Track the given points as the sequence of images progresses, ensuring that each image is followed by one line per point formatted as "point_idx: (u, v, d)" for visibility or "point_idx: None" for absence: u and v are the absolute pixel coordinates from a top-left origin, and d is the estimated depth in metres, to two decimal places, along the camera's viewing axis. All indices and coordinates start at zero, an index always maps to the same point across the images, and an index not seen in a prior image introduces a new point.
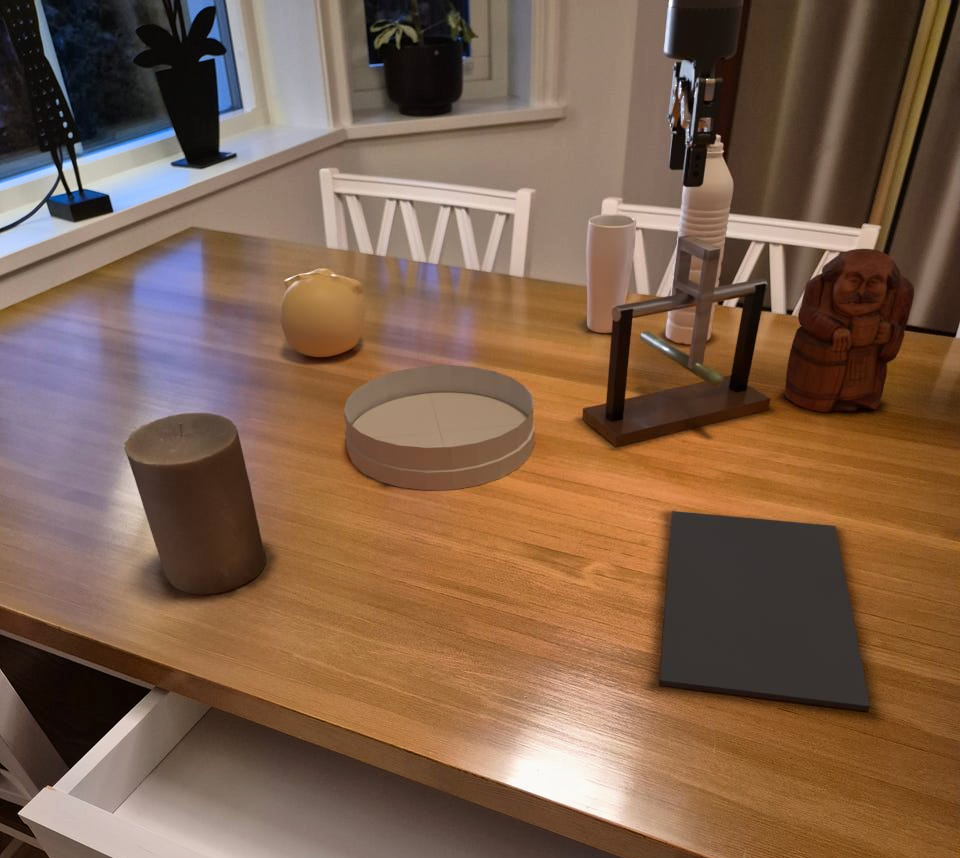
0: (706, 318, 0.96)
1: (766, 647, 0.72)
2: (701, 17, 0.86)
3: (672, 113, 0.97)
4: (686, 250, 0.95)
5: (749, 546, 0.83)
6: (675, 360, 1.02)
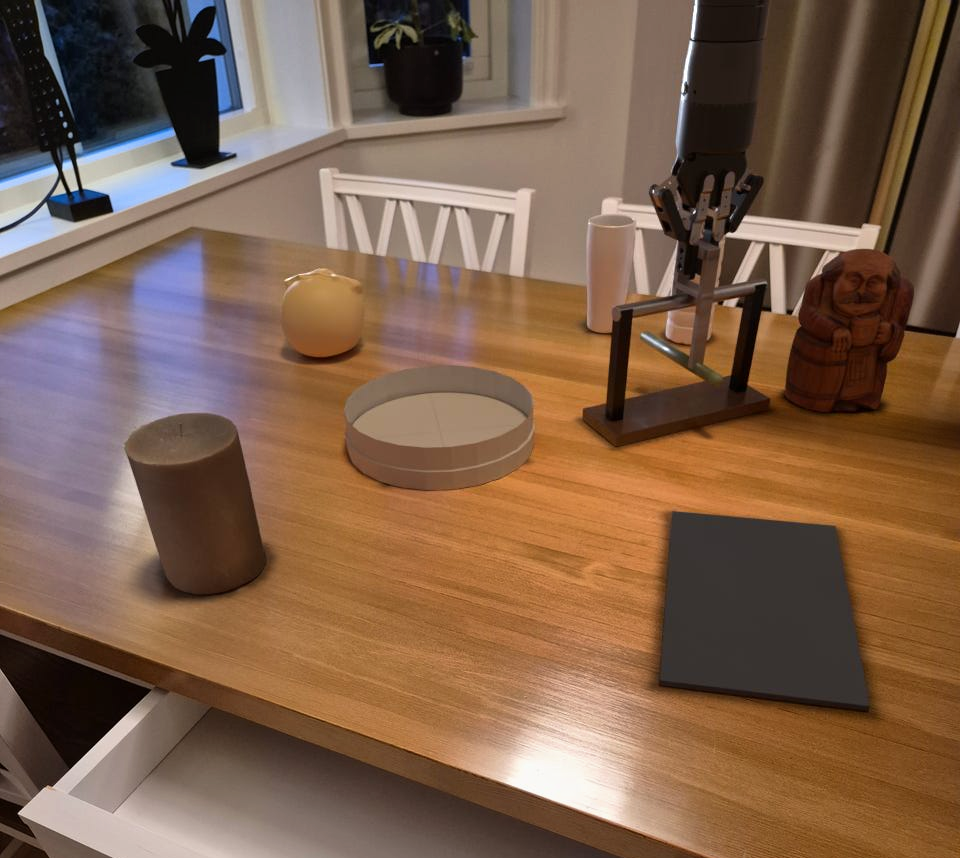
0: (706, 318, 0.96)
1: (766, 647, 0.72)
2: (681, 108, 0.85)
3: None
4: None
5: (749, 546, 0.83)
6: (675, 360, 1.02)
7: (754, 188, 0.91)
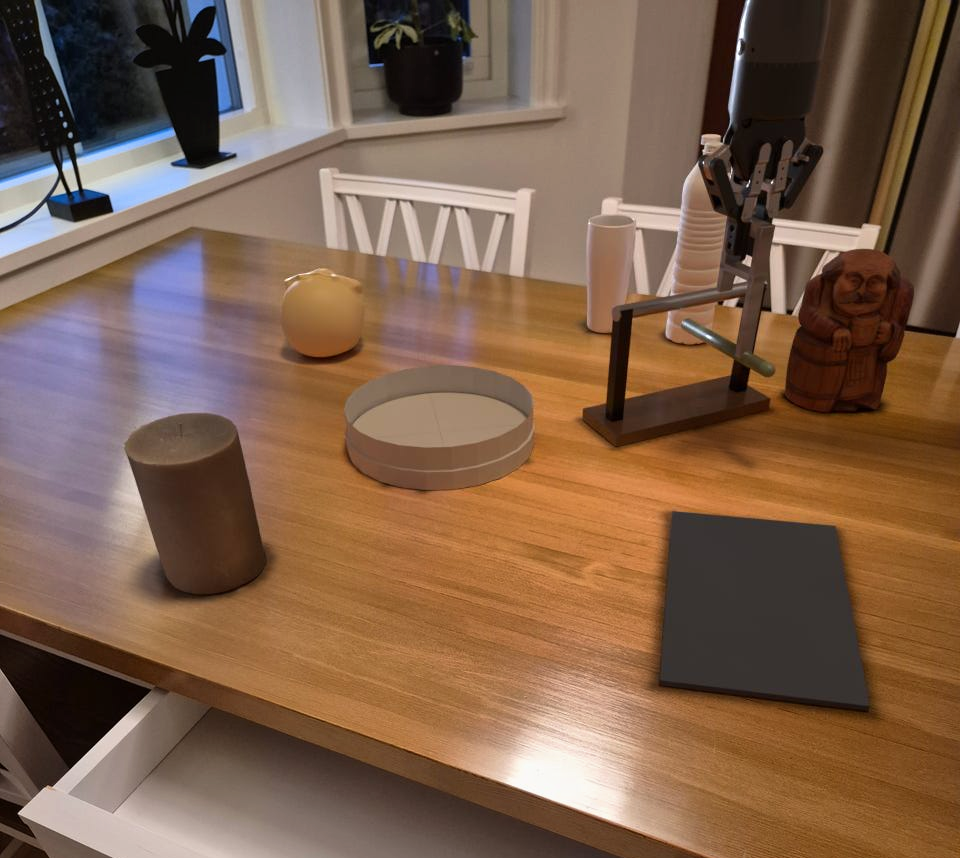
0: (757, 303, 0.88)
1: (766, 647, 0.72)
2: (736, 69, 0.77)
3: None
4: None
5: (749, 546, 0.83)
6: (720, 349, 0.94)
7: (813, 159, 0.83)
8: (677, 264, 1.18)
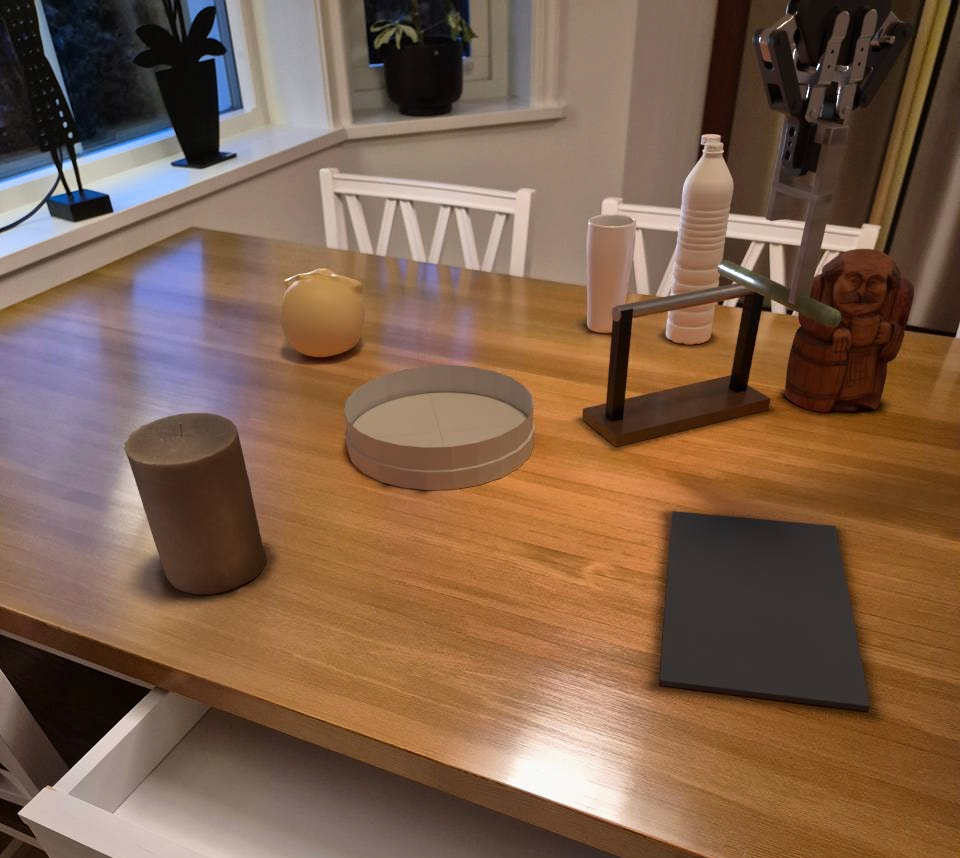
0: (820, 231, 0.70)
1: (766, 647, 0.72)
2: None
3: None
4: None
5: (749, 546, 0.83)
6: (769, 295, 0.76)
7: (899, 41, 0.64)
8: (677, 264, 1.18)
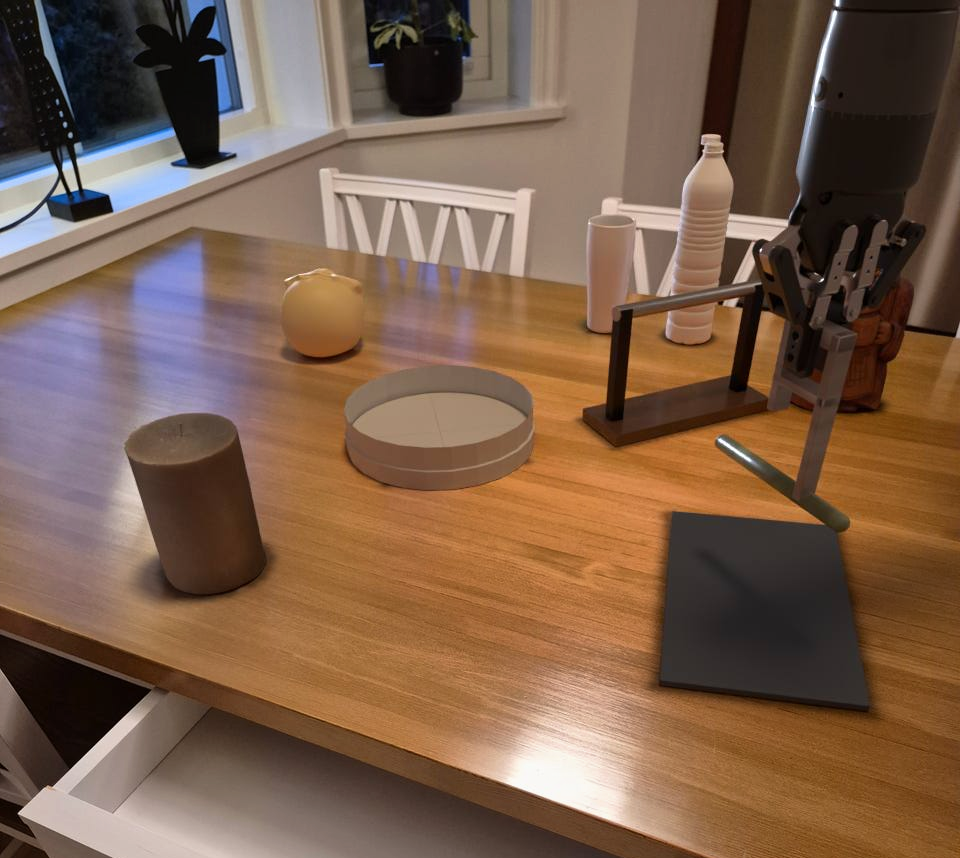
0: (826, 432, 0.64)
1: (766, 647, 0.72)
2: (812, 121, 0.53)
3: None
4: None
5: (749, 546, 0.83)
6: (771, 484, 0.70)
7: (911, 243, 0.59)
8: (677, 264, 1.18)
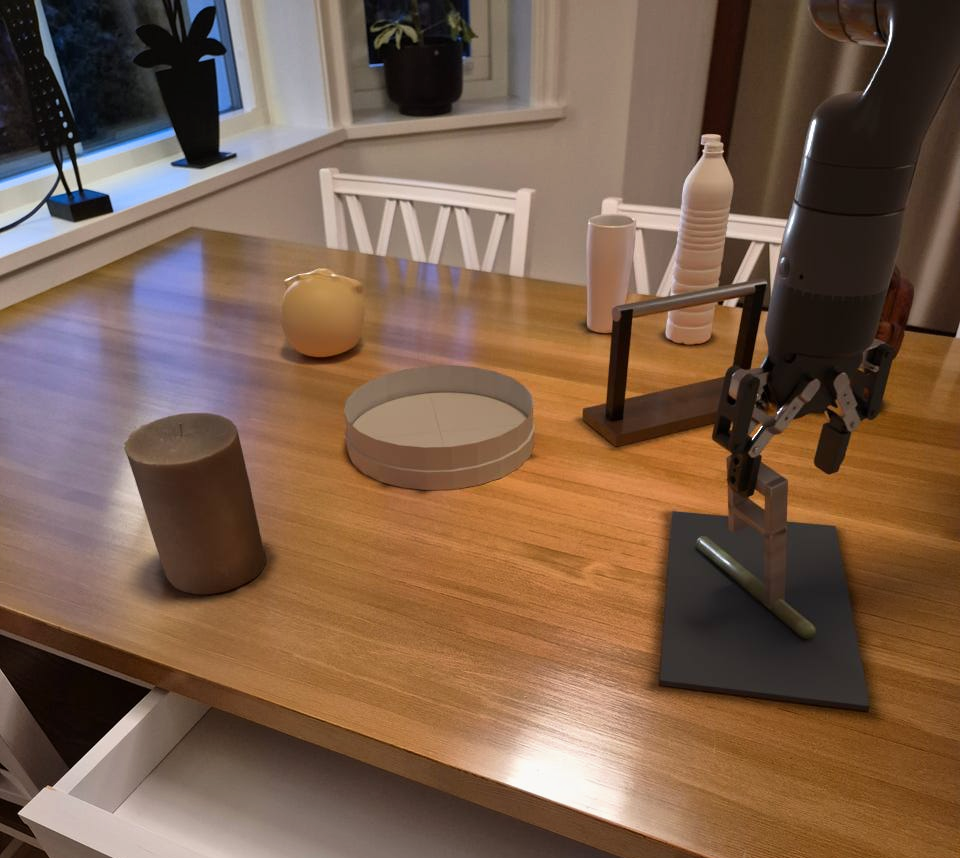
0: (781, 555, 0.71)
1: (766, 647, 0.72)
2: (777, 292, 0.60)
3: None
4: None
5: (749, 546, 0.83)
6: (746, 589, 0.77)
7: (884, 363, 0.65)
8: (677, 264, 1.18)
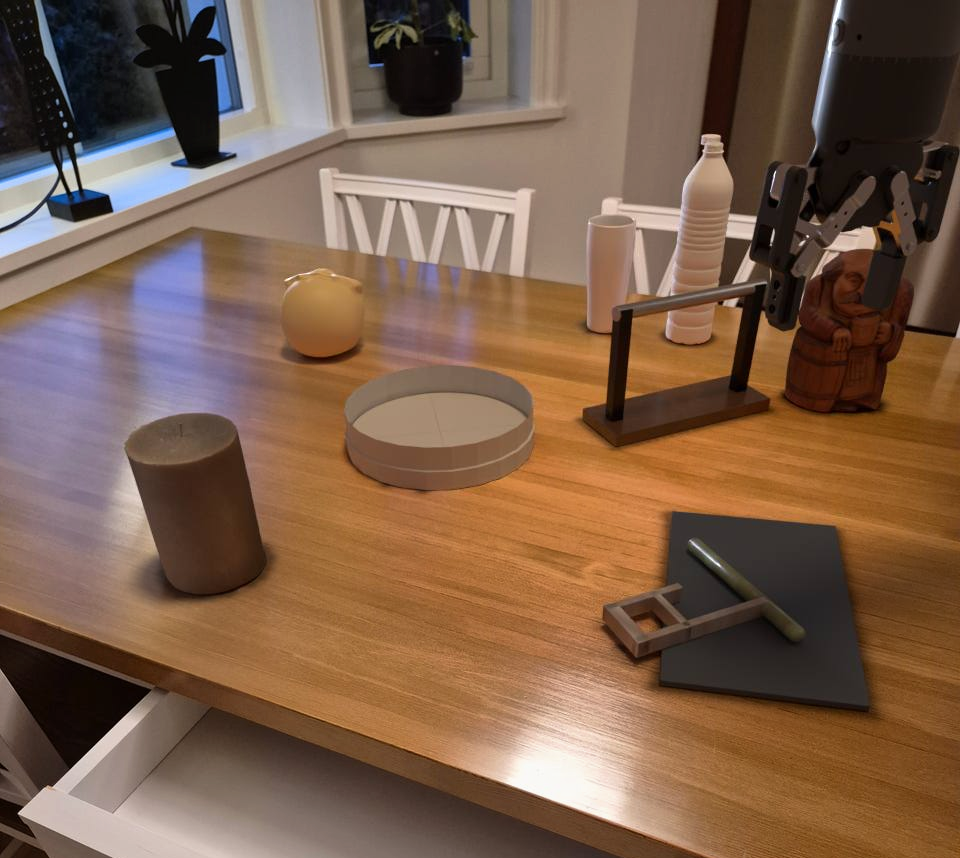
0: (712, 623, 0.72)
1: (766, 647, 0.72)
2: (829, 66, 0.51)
3: None
4: None
5: (749, 546, 0.83)
6: None
7: (947, 168, 0.57)
8: (677, 264, 1.18)
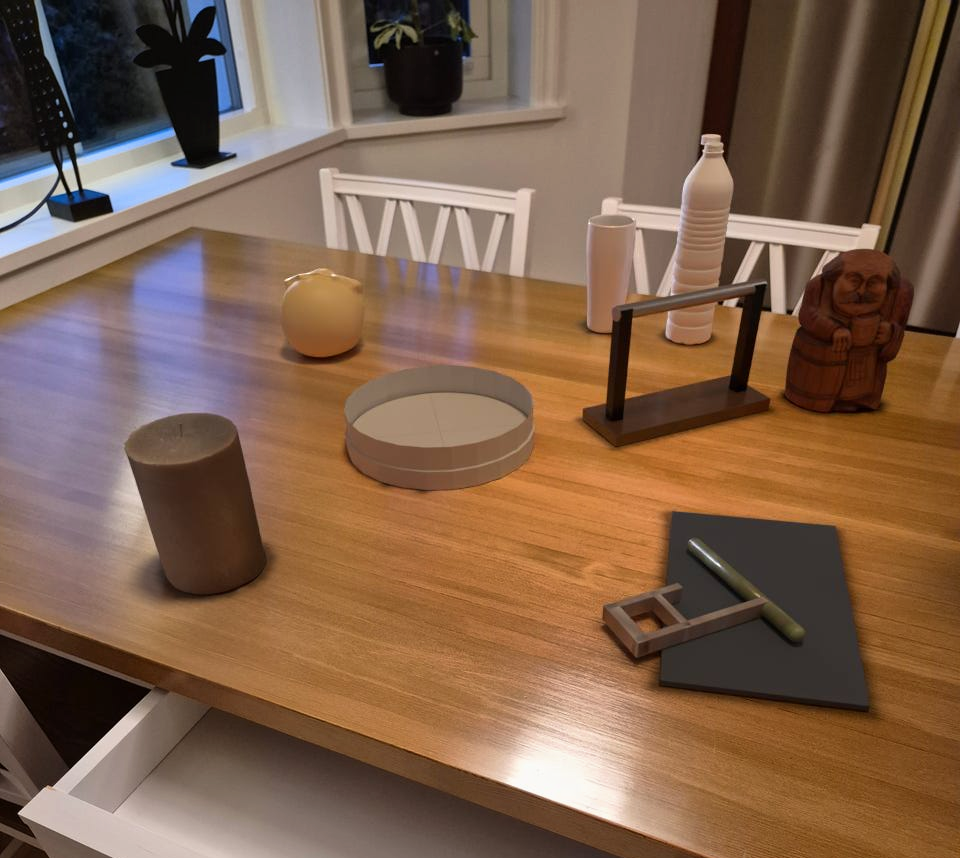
0: (712, 623, 0.72)
1: (766, 647, 0.72)
2: None
3: None
4: None
5: (749, 546, 0.83)
6: None
7: None
8: (677, 264, 1.18)
